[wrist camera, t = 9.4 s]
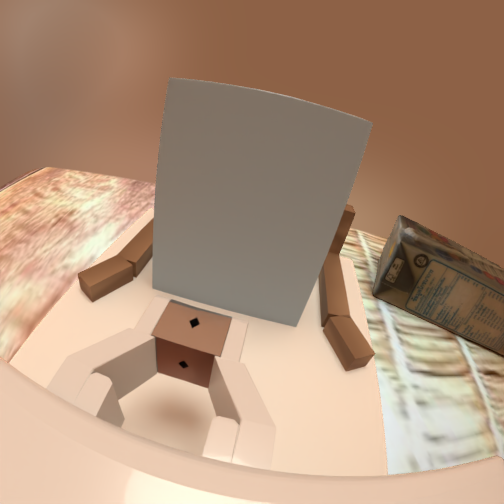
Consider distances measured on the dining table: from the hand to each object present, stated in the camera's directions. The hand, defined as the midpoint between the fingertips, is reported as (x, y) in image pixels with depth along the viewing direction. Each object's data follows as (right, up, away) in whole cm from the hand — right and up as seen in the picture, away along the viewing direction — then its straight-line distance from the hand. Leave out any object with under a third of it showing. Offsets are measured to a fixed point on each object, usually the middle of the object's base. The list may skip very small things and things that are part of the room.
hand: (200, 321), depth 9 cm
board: (0, -2, +9) cm, 9 cm away
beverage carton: (+21, -4, +15) cm, 26 cm away
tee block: (0, +1, +11) cm, 11 cm away
